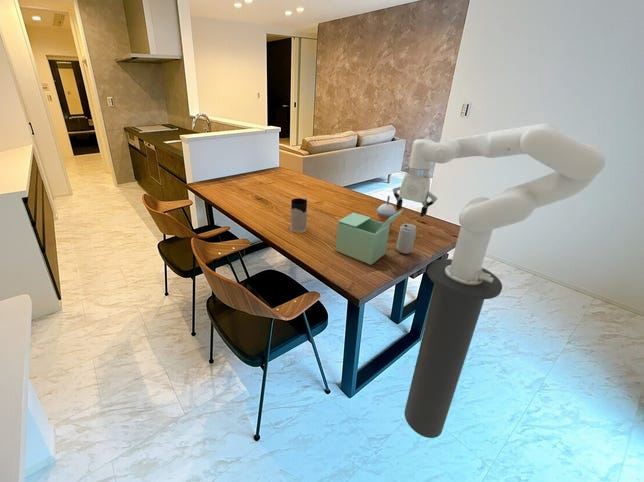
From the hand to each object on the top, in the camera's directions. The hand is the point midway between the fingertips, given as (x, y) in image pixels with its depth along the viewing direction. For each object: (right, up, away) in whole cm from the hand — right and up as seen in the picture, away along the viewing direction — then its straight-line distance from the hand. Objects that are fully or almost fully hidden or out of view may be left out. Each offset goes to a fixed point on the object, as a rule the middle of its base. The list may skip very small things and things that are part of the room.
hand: (410, 212), depth 122 cm
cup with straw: (-2, -9, +26) cm, 27 cm away
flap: (-12, -3, -8) cm, 15 cm away
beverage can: (0, -17, +6) cm, 18 cm away
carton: (-19, -17, +5) cm, 26 cm away
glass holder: (-43, -7, +29) cm, 52 cm away
